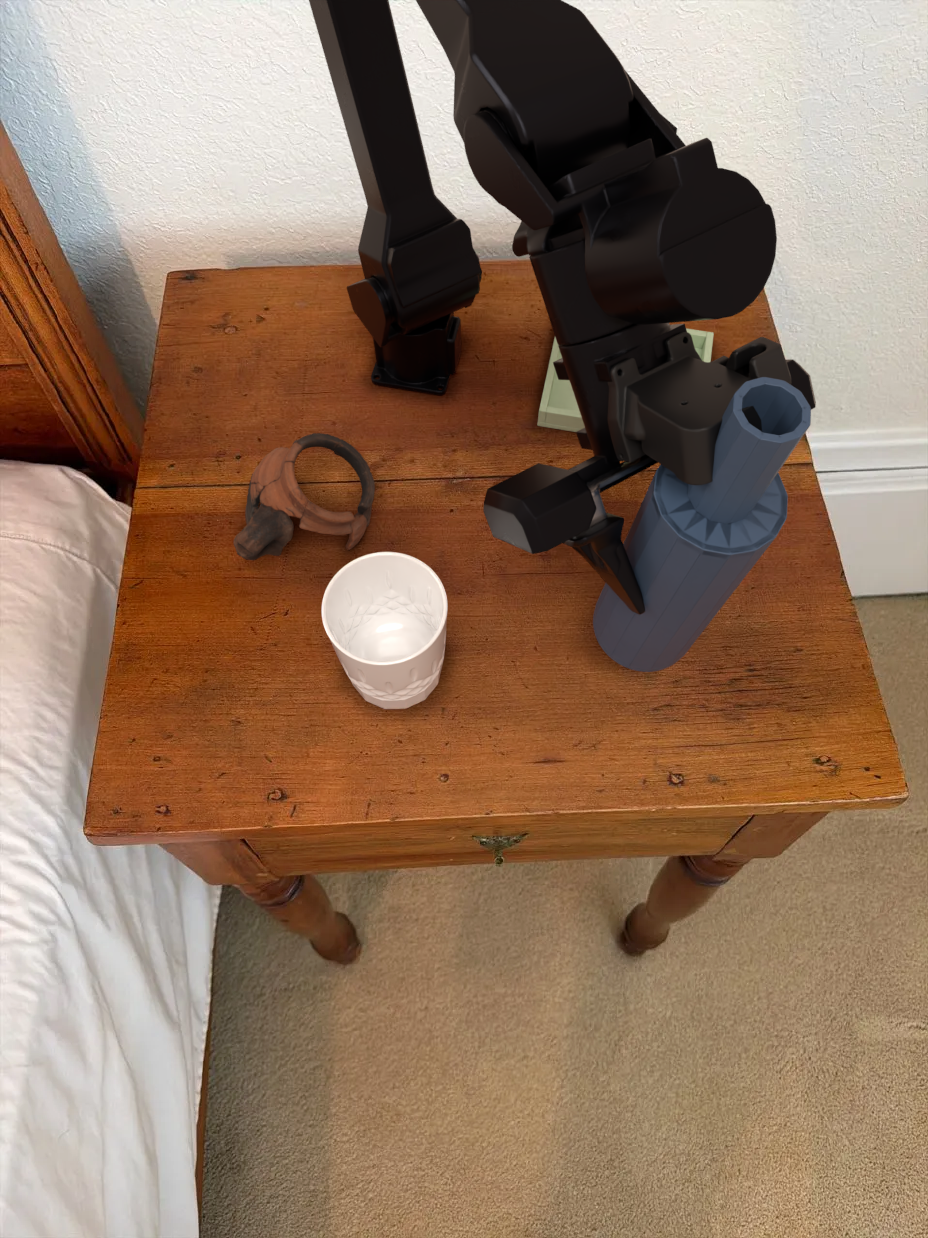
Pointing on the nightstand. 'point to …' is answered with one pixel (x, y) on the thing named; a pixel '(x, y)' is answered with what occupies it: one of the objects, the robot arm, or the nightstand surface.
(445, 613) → the white cup
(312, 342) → the nightstand surface
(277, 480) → the brown grey sculpted ring
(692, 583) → the carafe
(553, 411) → the tray
